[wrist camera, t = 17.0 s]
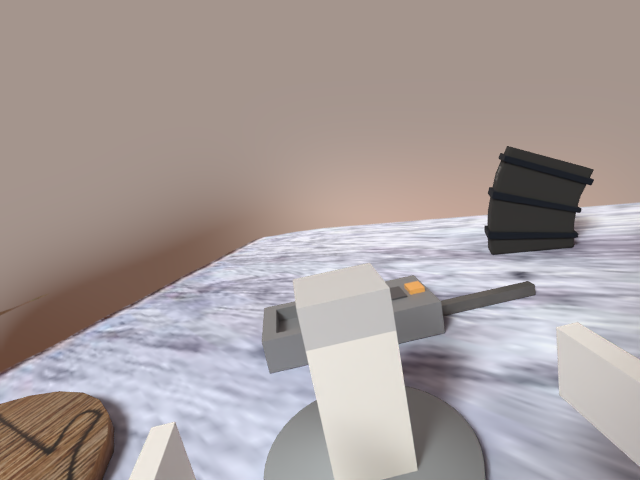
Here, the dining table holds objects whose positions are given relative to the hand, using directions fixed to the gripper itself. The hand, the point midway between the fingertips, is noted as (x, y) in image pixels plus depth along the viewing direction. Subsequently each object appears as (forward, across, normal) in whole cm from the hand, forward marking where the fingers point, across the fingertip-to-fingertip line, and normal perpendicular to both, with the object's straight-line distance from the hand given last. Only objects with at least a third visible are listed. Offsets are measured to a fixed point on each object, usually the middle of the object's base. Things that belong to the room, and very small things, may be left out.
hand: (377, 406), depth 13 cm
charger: (+10, 0, -11) cm, 15 cm away
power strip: (+27, +8, -12) cm, 31 cm away
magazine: (+40, +32, -13) cm, 53 cm away
